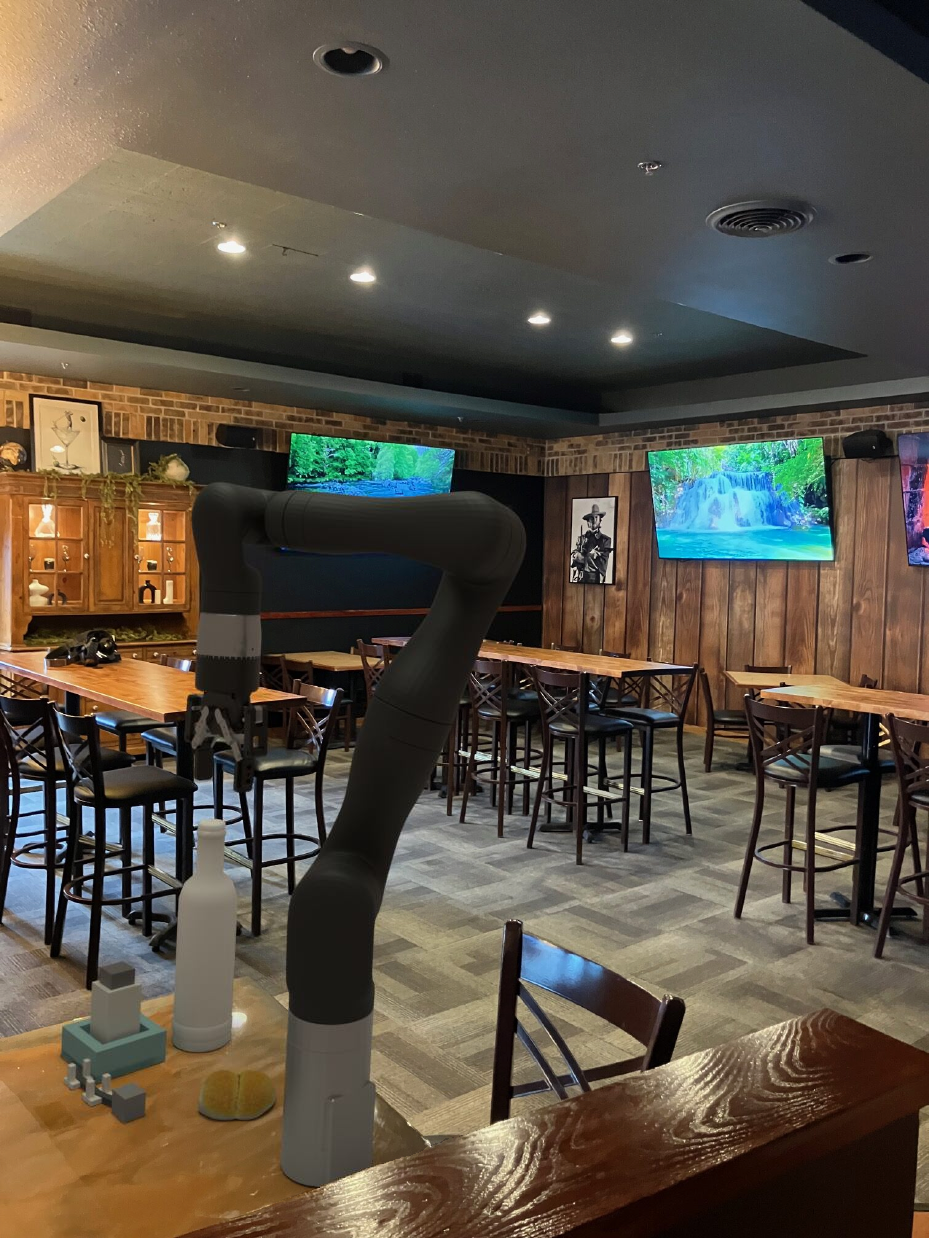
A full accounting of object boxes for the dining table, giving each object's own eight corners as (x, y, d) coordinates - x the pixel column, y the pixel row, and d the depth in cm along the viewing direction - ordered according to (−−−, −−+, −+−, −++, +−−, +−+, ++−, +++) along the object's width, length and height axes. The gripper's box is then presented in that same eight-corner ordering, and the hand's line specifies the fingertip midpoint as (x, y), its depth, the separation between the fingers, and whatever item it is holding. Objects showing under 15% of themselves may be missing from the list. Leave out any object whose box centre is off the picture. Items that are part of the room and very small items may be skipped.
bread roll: (274, 1122, 115) (275, 1088, 115) (195, 1125, 113) (197, 1091, 113) (275, 1086, 123) (277, 1055, 123) (202, 1088, 121) (203, 1056, 121)
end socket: (165, 1060, 127) (166, 1030, 127) (95, 1084, 121) (96, 1052, 120) (129, 1034, 134) (130, 1006, 134) (61, 1056, 127) (62, 1025, 127)
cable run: (144, 1115, 114) (145, 1091, 114) (114, 1126, 112) (115, 1102, 112) (89, 1070, 124) (90, 1048, 124) (60, 1079, 121) (61, 1057, 121)
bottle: (222, 1054, 130) (233, 830, 129) (163, 1051, 130) (174, 826, 129) (237, 1028, 138) (247, 816, 137) (181, 1024, 138) (191, 813, 137)
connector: (138, 1052, 127) (142, 968, 127) (105, 1063, 124) (109, 977, 124) (121, 1040, 130) (125, 958, 130) (89, 1050, 127) (92, 966, 127)
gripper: (290, 656, 116) (283, 792, 116) (222, 646, 125) (216, 772, 126) (235, 657, 110) (228, 800, 111) (169, 647, 120) (163, 778, 120)
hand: (222, 785), depth 118 cm, fingers open, 8 cm apart
